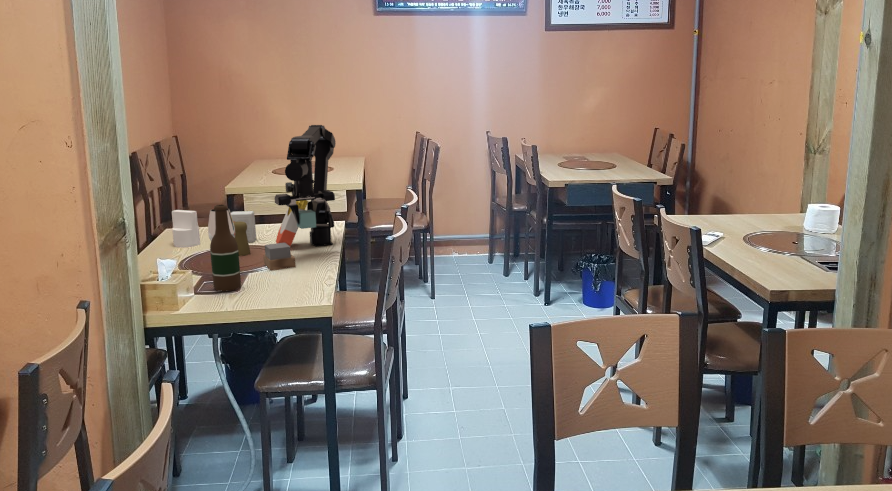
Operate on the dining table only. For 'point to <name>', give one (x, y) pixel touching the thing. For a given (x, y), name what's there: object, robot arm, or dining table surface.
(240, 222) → the cork
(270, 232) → the dining table surface
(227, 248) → the beer bottle
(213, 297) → the dining table surface
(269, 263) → the walnut slab
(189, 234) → the white stepped block
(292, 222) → the french fries container
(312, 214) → the teal cube
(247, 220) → the small box
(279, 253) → the charcoal block
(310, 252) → the dining table surface
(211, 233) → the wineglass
